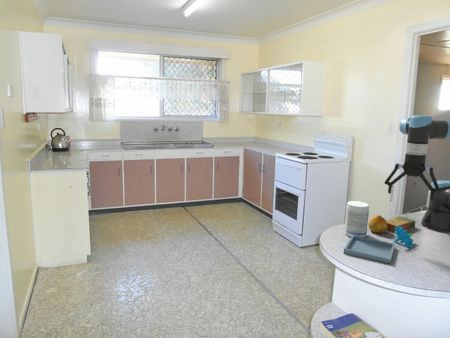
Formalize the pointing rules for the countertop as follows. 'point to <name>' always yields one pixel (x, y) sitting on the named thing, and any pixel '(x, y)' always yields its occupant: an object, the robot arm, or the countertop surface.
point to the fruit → (377, 224)
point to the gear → (403, 237)
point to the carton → (400, 223)
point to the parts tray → (370, 249)
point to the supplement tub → (356, 218)
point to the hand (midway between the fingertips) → (408, 203)
